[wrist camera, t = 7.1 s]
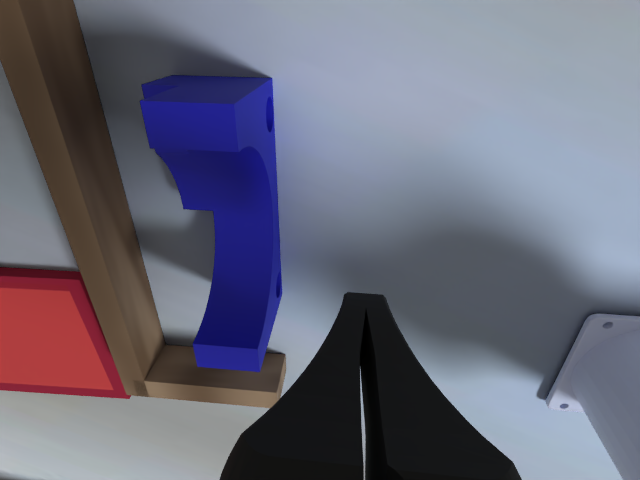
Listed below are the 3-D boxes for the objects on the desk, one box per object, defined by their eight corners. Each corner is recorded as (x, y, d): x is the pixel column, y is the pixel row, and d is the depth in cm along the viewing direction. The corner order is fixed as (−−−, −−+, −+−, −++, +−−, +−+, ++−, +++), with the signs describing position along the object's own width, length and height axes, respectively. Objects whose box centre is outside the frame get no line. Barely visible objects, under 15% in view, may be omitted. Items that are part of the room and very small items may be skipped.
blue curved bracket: (174, 74, 17) (93, 99, 12) (273, 77, 17) (234, 104, 12) (210, 286, 23) (167, 364, 18) (282, 292, 23) (259, 372, 18)
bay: (265, -84, 14) (244, -107, 11) (285, 369, 26) (277, 408, 23) (13, -83, 14) (-63, -105, 12) (149, 358, 27) (126, 394, 24)
